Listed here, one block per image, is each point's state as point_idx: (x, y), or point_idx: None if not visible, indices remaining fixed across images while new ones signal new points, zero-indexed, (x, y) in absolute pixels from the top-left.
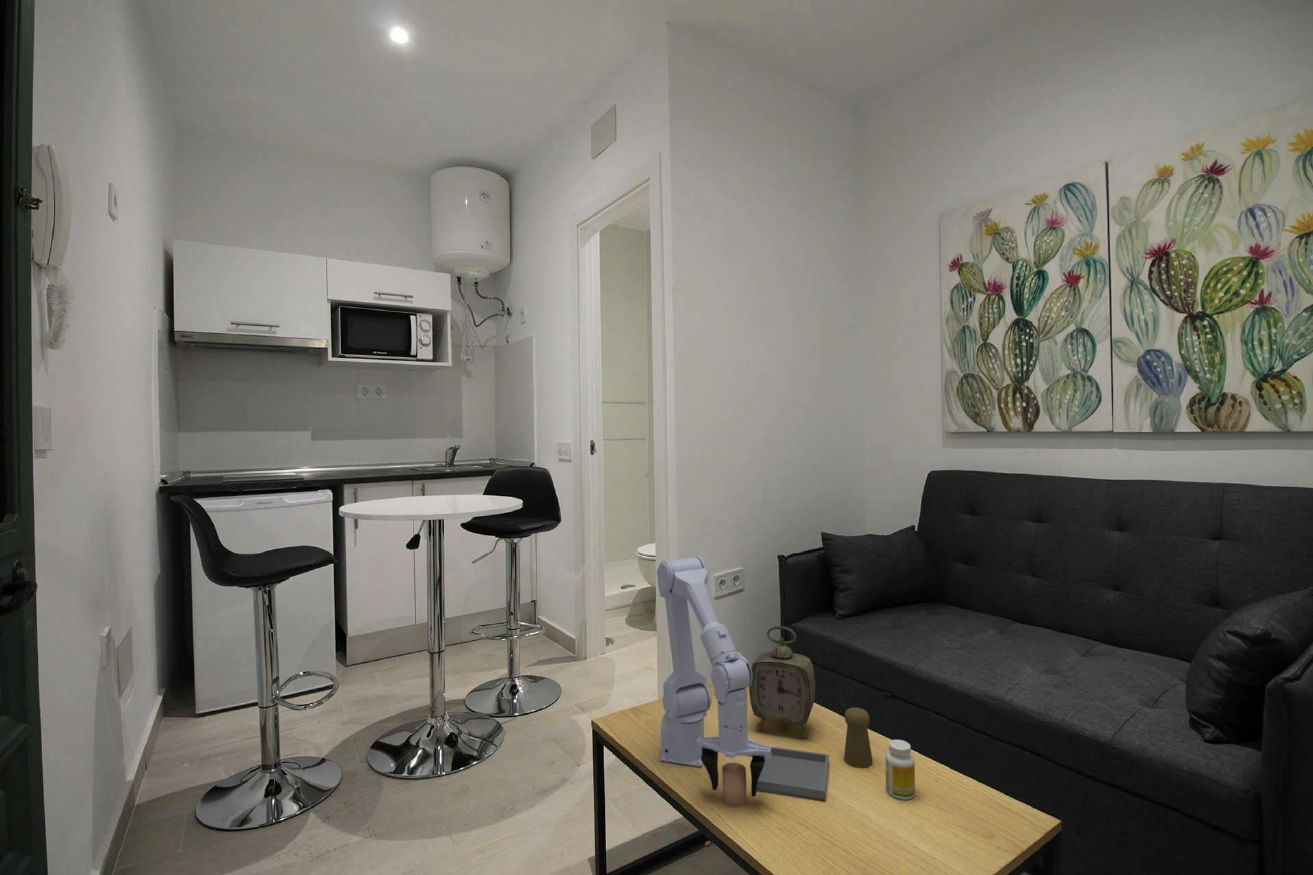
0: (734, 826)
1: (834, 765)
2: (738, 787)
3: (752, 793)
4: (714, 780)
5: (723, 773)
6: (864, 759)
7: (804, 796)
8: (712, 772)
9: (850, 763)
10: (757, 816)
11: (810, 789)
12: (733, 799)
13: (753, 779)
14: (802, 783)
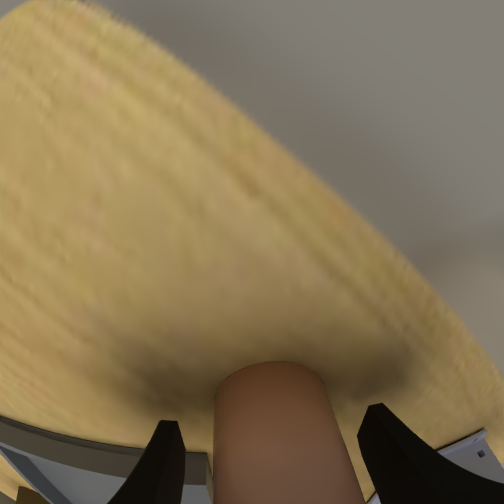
0: (224, 198)
1: None
2: (245, 447)
3: (168, 430)
4: (396, 439)
5: (359, 493)
6: (18, 498)
7: (39, 432)
8: (425, 469)
9: (42, 498)
10: (126, 320)
11: (15, 446)
12: (270, 386)
13: (139, 498)
14: (74, 472)
